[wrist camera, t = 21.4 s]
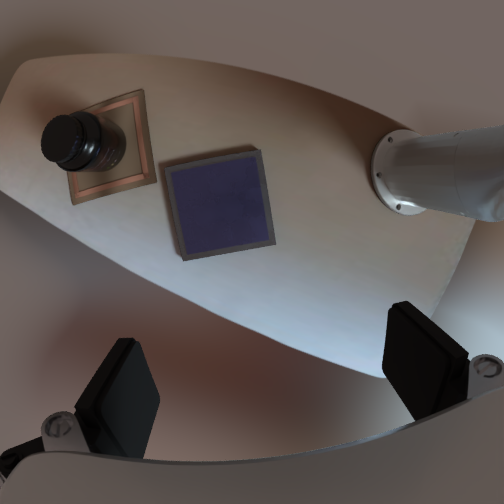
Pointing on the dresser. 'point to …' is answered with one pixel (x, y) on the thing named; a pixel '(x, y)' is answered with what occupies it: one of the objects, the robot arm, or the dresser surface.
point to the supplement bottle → (83, 142)
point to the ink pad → (220, 205)
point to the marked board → (134, 160)
